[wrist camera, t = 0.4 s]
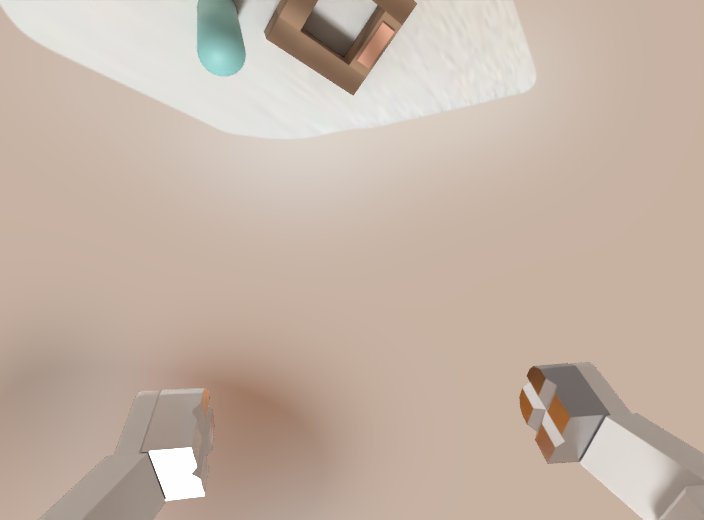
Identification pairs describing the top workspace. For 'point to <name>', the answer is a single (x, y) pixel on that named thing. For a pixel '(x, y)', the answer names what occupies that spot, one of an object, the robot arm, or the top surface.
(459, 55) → the top surface
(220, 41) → the teal peg
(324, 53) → the hole plate
